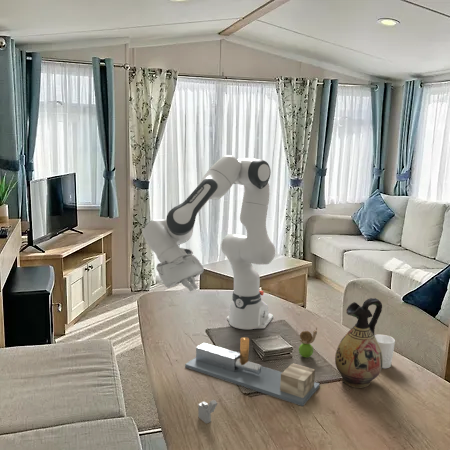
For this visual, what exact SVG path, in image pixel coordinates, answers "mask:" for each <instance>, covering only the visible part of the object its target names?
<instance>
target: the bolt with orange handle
mask: <svg viewBox="0 0 450 450" xmlns="http://www.w3.org/2000/svg"><path fill="white" fill-rule="evenodd" d="M239 346H240V347H239V353H240V358H237V359H235V367H237V368H240V369H243V370H246V371H249V372H253V373H256V374H260V372H261V369H262V366H263V365H261V364H259V363H256V362H252V361H250V360H249V358H250V357H249V354H250V352H249V351H250V338H249V337H247V336H243V337H240V343H239Z"/></svg>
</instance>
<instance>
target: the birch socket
mask: <svg viewBox="0 0 450 450" xmlns="http://www.w3.org/2000/svg"><path fill="white" fill-rule="evenodd" d="M281 372H282V373H281V381H280V391H283V392H286V393H289V394H292V395H295V396H298V397H301V398H304V397H305V395H306V394H307V393H308V392H309V391H310V390H311V389H312V388H313V386H314V382H315V376H316V375H315V373H316V369H315V368H312V367H308V366H304V365H300V364H296V363H294V362H293V363H291V364H290V365H289V366H288V367H287V368H285V369H284V371H281Z"/></svg>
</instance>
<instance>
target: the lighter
mask: <svg viewBox="0 0 450 450" xmlns="http://www.w3.org/2000/svg"><path fill="white" fill-rule="evenodd" d="M217 405H218V402H217V400H216V399H212V400H210V401H209V403H208V402H206V401H205V400H204V401H201V402H199V403H198V407H197V408H198V411H197V412H198V418H199V419H200V420H201V421H202V422H204V424H209V423H212V421H211V420H212V418H211V417H212V413H214V412H215V410H216V407H217Z"/></svg>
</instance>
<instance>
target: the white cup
mask: <svg viewBox="0 0 450 450" xmlns="http://www.w3.org/2000/svg"><path fill="white" fill-rule="evenodd" d="M374 336H375V338H376V340H377V342H378V344H379V346H380V349H381V352H382V358H383V364H382V369H388V368H389V369H390V367H392V361H393V356H394V351H395V350H394V349H395V343H396V340H395V338H394V337H392V336H391V335H386V334H382V333H381V334H380V333H379V334H374Z"/></svg>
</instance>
